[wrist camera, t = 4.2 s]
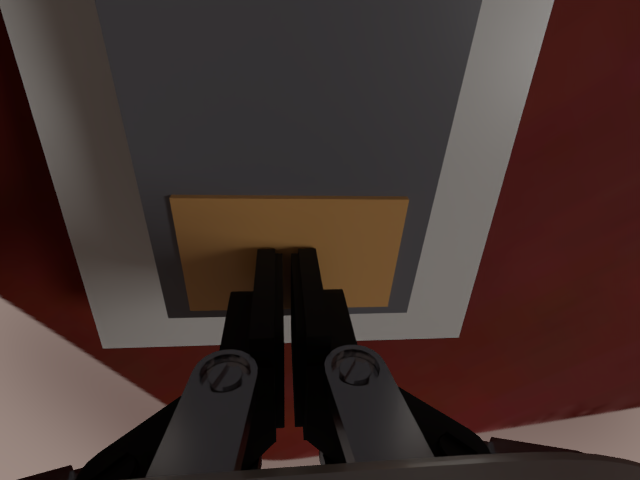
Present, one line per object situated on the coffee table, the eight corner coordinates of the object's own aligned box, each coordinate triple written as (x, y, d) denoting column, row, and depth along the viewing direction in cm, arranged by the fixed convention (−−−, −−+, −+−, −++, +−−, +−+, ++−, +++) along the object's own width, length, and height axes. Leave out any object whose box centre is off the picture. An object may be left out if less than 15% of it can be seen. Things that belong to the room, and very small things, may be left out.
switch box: (-30, -421, 10) (-343, -879, 5) (564, -329, 11) (779, -603, 6) (134, 293, 20) (87, 375, 15) (429, 288, 22) (472, 361, 17)
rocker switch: (42, -393, 6) (-31, -507, 5) (522, -320, 7) (585, -400, 5) (178, 287, 14) (166, 322, 12) (395, 284, 15) (408, 317, 13)
